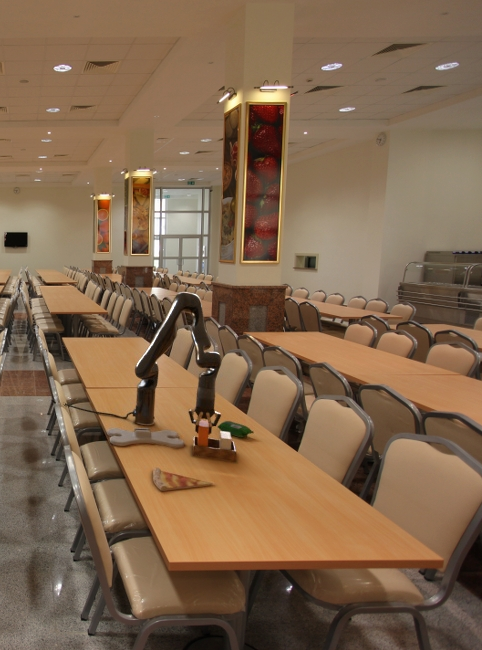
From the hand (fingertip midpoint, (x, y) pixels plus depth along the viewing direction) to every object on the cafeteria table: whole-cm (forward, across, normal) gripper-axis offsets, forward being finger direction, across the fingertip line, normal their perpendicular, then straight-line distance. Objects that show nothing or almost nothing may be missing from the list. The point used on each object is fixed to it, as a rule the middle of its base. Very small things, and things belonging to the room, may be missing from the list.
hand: (203, 433), depth 225 cm
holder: (+9, +25, -6) cm, 28 cm away
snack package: (+9, -16, -30) cm, 35 cm away
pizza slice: (+9, +9, +38) cm, 40 cm away
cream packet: (+8, -9, 0) cm, 12 cm away
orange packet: (+4, 0, 0) cm, 4 cm away
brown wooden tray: (+9, -5, 0) cm, 10 cm away
